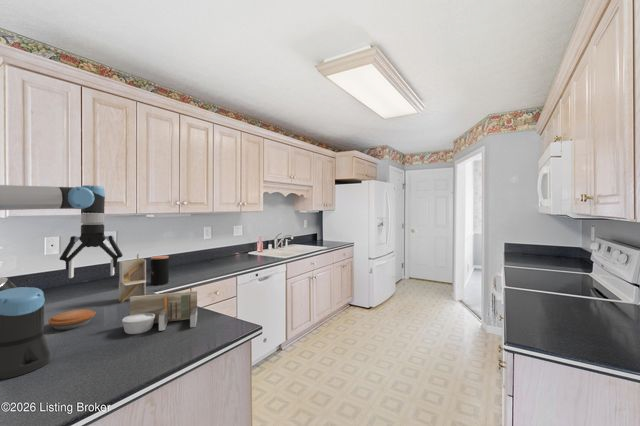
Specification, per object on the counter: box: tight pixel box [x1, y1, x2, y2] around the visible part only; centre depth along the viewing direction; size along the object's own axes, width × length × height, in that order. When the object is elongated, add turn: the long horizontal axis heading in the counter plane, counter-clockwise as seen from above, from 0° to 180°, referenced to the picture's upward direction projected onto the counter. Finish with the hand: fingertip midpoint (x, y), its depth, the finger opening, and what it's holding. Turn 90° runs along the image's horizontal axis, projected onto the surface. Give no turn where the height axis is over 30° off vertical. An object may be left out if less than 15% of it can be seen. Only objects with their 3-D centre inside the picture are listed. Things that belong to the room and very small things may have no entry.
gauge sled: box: [158, 296, 169, 332], centre depth 122 cm, size 10×2×11 cm, turn 20°
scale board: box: [129, 290, 198, 324], centre depth 127 cm, size 1×26×12 cm, turn 110°
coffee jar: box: [150, 255, 170, 286], centre depth 195 cm, size 11×11×18 cm
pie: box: [47, 308, 96, 331], centre depth 124 cm, size 16×16×5 cm
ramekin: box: [121, 313, 155, 335], centre depth 119 cm, size 11×11×5 cm
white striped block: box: [189, 307, 198, 328], centre depth 125 cm, size 10×2×5 cm, turn 20°
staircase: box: [118, 253, 147, 303], centre depth 158 cm, size 8×12×26 cm
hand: (92, 276), depth 118 cm, fingers open, 13 cm apart
